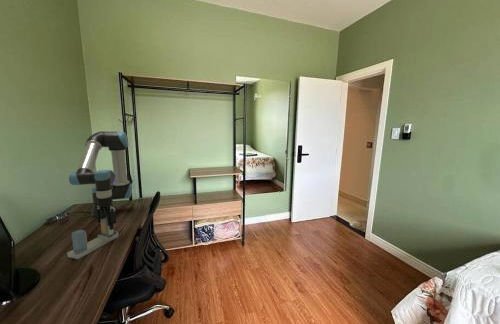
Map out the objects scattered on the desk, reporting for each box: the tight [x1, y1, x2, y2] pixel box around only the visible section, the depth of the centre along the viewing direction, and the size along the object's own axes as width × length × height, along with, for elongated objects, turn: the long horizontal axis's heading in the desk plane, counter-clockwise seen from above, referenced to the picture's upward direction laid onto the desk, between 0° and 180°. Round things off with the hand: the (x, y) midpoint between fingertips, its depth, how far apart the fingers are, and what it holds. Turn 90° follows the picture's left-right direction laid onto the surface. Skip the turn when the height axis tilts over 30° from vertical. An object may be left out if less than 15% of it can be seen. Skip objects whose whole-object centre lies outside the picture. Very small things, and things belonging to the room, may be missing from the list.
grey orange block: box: [100, 216, 114, 236], centre depth 123 cm, size 5×4×10 cm
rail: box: [66, 229, 119, 260], centre depth 116 cm, size 24×7×12 cm, turn 166°
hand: (107, 233), depth 124 cm, fingers closed on grey orange block, 4 cm apart
